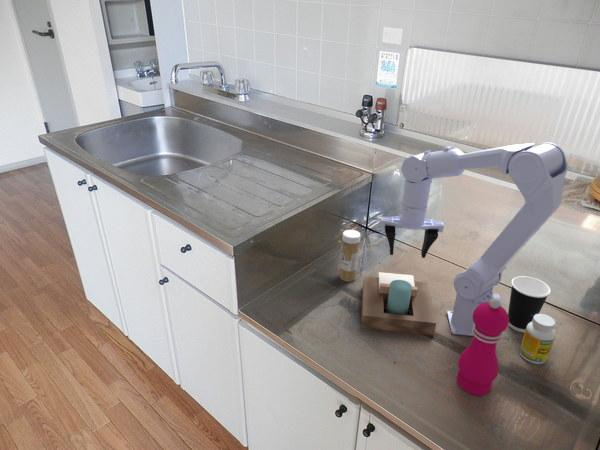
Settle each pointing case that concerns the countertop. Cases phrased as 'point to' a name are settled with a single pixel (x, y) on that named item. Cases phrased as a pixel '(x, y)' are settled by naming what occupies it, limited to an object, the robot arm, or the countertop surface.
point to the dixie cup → (526, 301)
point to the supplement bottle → (538, 339)
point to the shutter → (389, 277)
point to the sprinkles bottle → (349, 255)
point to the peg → (399, 297)
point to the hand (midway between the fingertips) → (407, 254)
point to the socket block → (415, 323)
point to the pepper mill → (482, 349)
